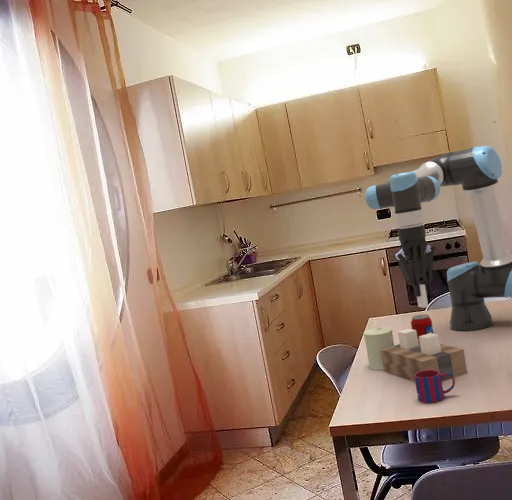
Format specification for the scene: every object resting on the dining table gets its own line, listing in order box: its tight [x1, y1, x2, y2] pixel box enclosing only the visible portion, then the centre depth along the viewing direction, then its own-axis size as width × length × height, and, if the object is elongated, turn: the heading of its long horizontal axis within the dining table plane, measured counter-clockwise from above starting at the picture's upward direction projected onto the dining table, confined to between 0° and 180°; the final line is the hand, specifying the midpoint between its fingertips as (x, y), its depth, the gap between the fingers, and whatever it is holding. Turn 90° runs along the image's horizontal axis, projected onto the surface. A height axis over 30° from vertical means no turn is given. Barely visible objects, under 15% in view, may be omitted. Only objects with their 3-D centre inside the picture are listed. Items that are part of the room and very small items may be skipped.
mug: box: [414, 370, 456, 404], centre depth 163 cm, size 7×10×7 cm
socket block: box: [381, 339, 468, 383], centre depth 186 cm, size 22×14×7 cm, turn 21°
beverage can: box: [410, 314, 435, 339], centre depth 207 cm, size 7×7×12 cm
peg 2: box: [419, 333, 441, 356], centre depth 180 cm, size 4×4×7 cm
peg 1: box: [397, 328, 419, 350], centre depth 191 cm, size 4×4×7 cm
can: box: [363, 326, 395, 371], centre depth 200 cm, size 9×9×12 cm
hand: (423, 306), depth 179 cm, fingers closed
